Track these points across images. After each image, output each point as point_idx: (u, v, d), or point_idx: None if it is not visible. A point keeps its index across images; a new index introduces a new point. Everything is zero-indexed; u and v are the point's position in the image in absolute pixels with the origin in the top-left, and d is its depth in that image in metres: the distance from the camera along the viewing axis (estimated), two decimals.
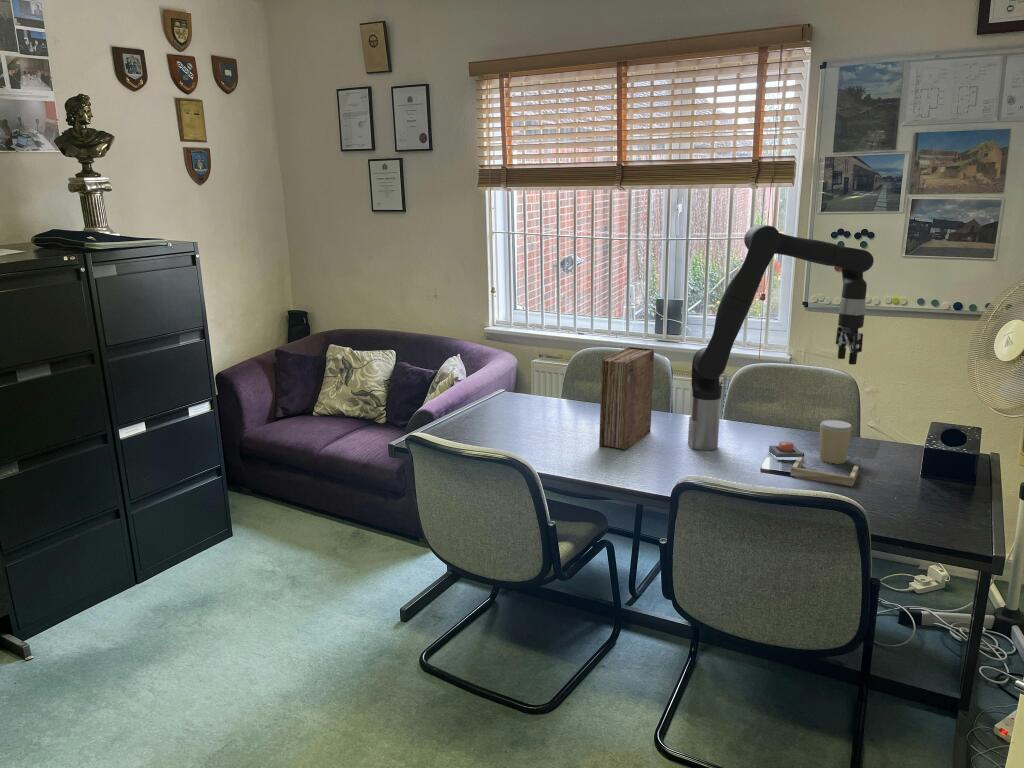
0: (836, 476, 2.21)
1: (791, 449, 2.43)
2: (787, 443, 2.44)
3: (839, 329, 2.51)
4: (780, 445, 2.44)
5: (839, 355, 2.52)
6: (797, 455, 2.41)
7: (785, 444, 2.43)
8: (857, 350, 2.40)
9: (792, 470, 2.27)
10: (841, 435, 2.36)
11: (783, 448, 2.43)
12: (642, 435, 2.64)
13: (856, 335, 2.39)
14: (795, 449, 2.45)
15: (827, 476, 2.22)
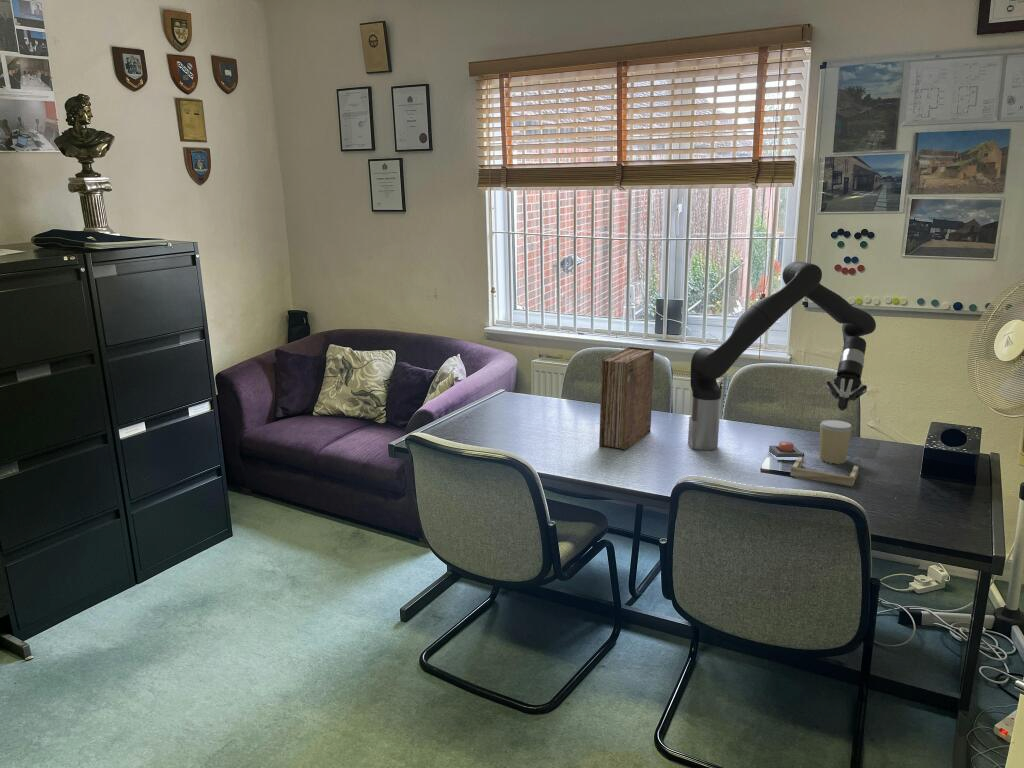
0: (836, 476, 2.21)
1: (791, 449, 2.43)
2: (787, 443, 2.44)
3: None
4: (780, 445, 2.44)
5: (842, 404, 2.48)
6: (797, 455, 2.41)
7: (785, 444, 2.43)
8: (855, 397, 2.48)
9: (792, 470, 2.27)
10: (841, 435, 2.36)
11: (783, 448, 2.43)
12: (642, 435, 2.64)
13: (866, 388, 2.48)
14: (795, 449, 2.45)
15: (827, 476, 2.22)
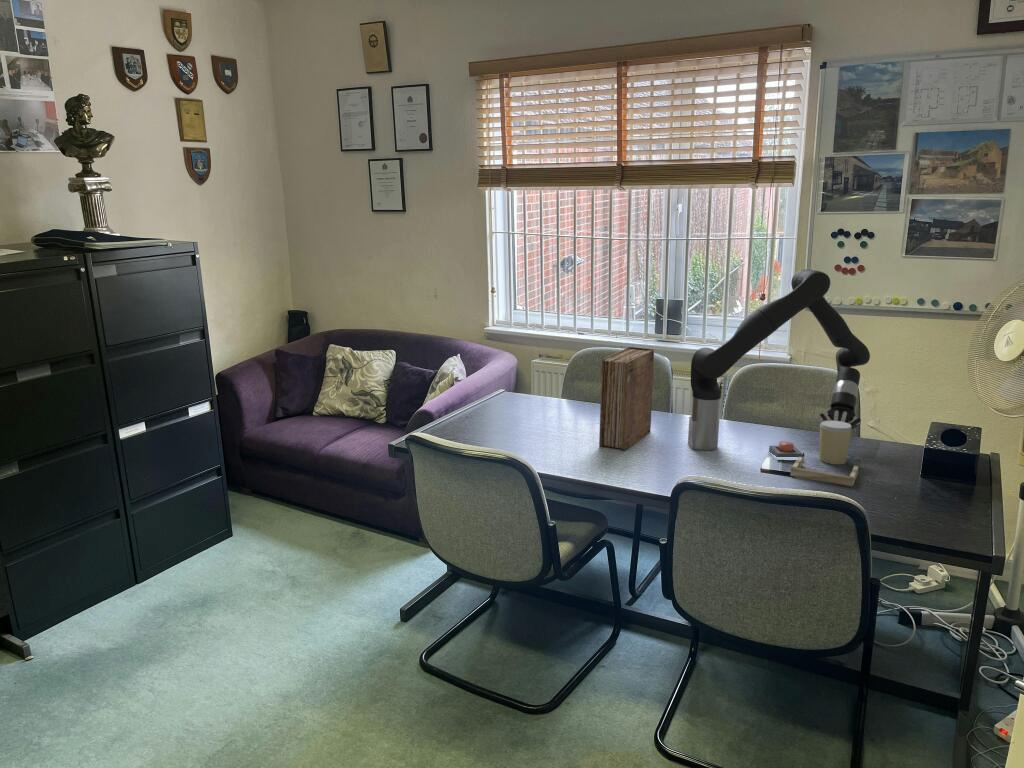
0: (836, 476, 2.21)
1: (791, 449, 2.43)
2: (787, 443, 2.44)
3: (823, 414, 2.50)
4: (780, 445, 2.44)
5: None
6: (797, 455, 2.41)
7: (785, 444, 2.43)
8: None
9: (792, 470, 2.27)
10: (841, 435, 2.35)
11: (783, 448, 2.43)
12: (642, 435, 2.64)
13: (860, 421, 2.44)
14: (795, 449, 2.45)
15: (827, 476, 2.22)
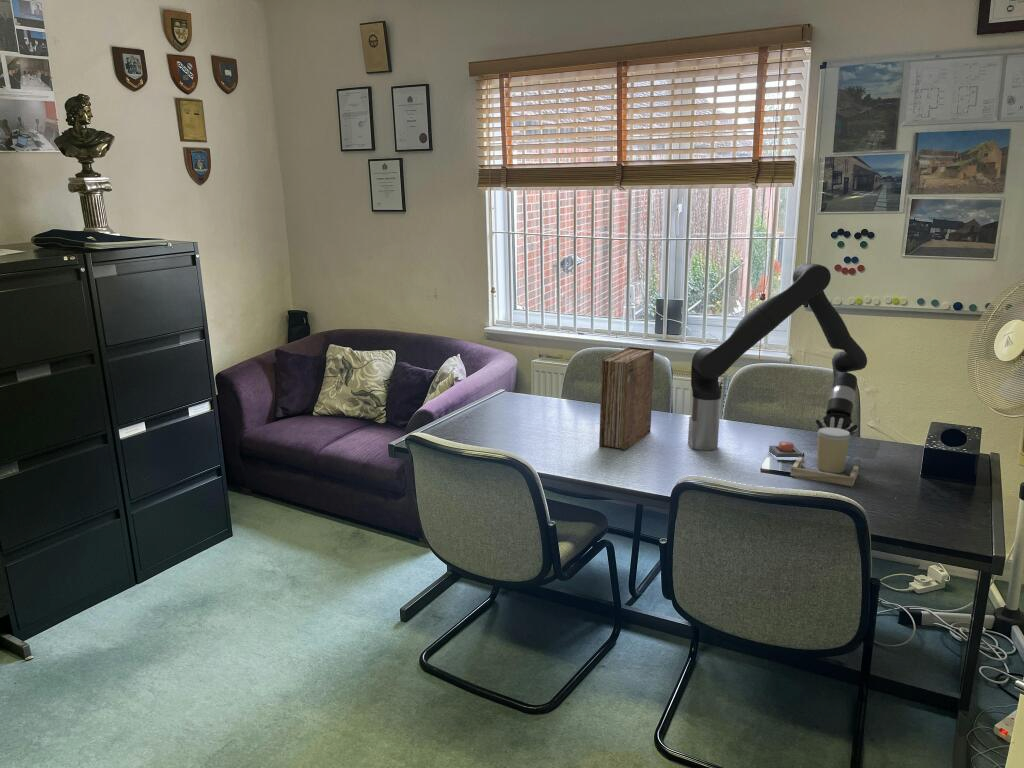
0: (836, 476, 2.21)
1: (791, 449, 2.43)
2: (787, 443, 2.44)
3: (819, 421, 2.43)
4: (780, 445, 2.44)
5: None
6: (797, 455, 2.41)
7: (785, 444, 2.43)
8: None
9: (792, 470, 2.27)
10: (842, 443, 2.28)
11: (783, 448, 2.43)
12: (642, 435, 2.64)
13: (856, 428, 2.37)
14: (795, 449, 2.45)
15: (827, 476, 2.22)
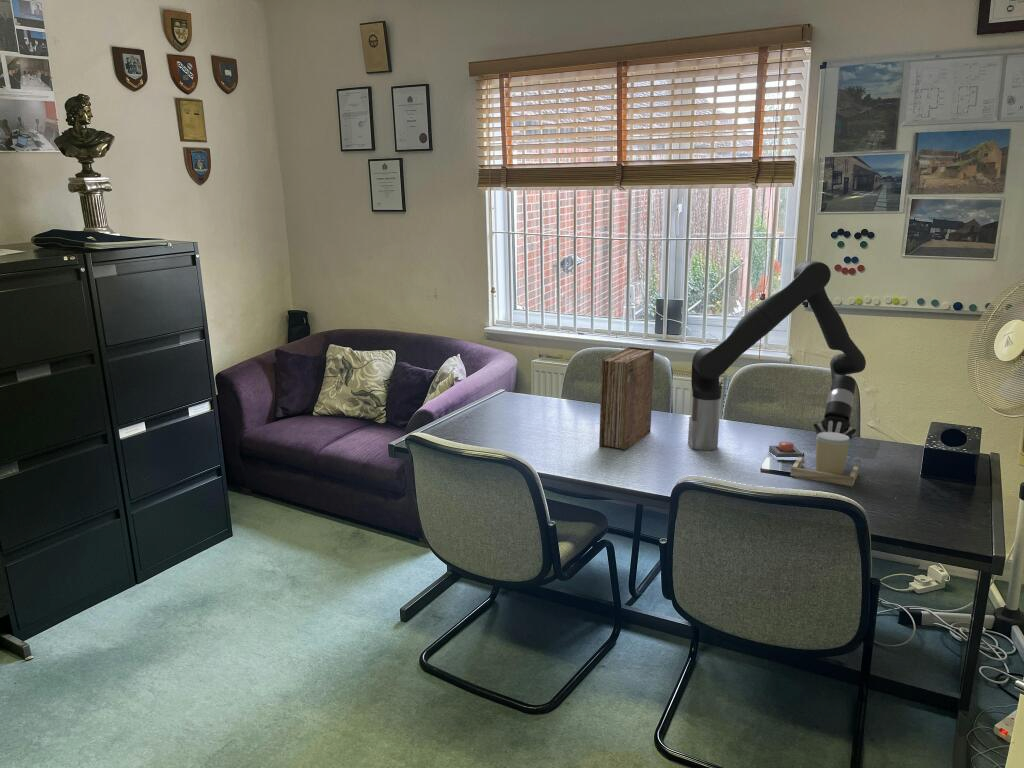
0: (836, 476, 2.21)
1: (791, 449, 2.43)
2: (787, 443, 2.44)
3: (817, 425, 2.38)
4: (780, 445, 2.44)
5: None
6: (797, 455, 2.41)
7: (785, 444, 2.43)
8: None
9: (792, 470, 2.27)
10: (842, 448, 2.23)
11: (783, 448, 2.43)
12: (642, 435, 2.64)
13: (855, 432, 2.33)
14: (795, 449, 2.45)
15: (827, 476, 2.22)
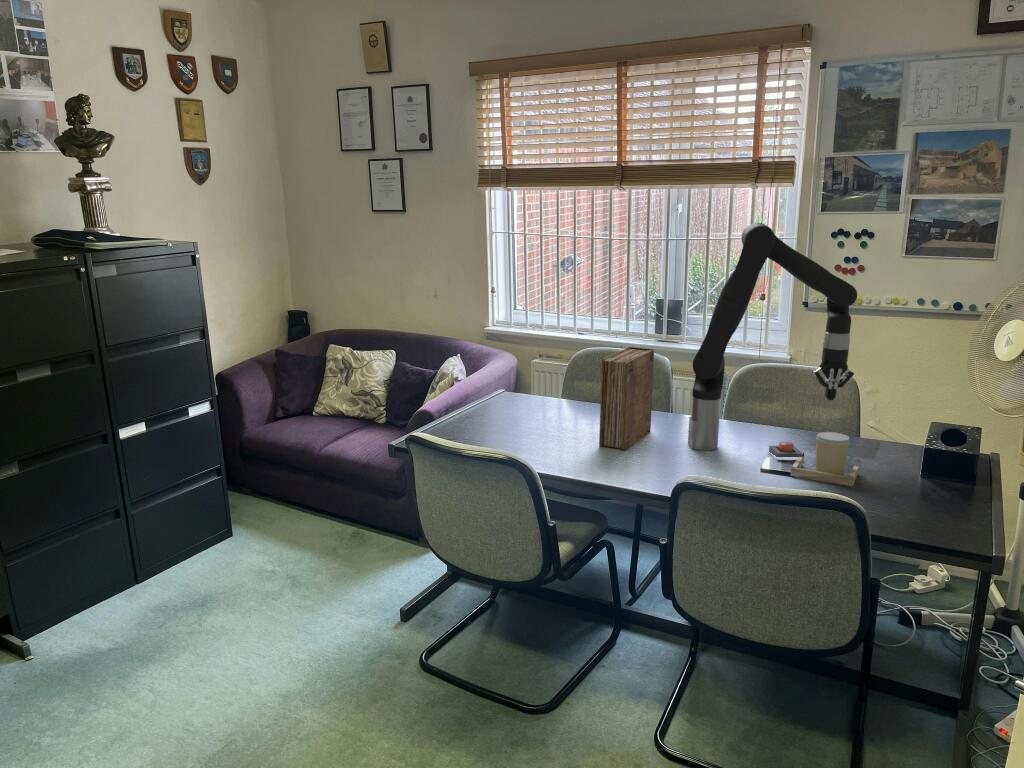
0: (836, 476, 2.21)
1: (791, 449, 2.43)
2: (787, 443, 2.44)
3: None
4: (780, 445, 2.44)
5: None
6: (797, 455, 2.41)
7: (785, 444, 2.43)
8: None
9: (792, 470, 2.27)
10: (842, 448, 2.23)
11: (783, 448, 2.43)
12: (642, 435, 2.64)
13: None
14: (795, 449, 2.45)
15: (827, 476, 2.22)
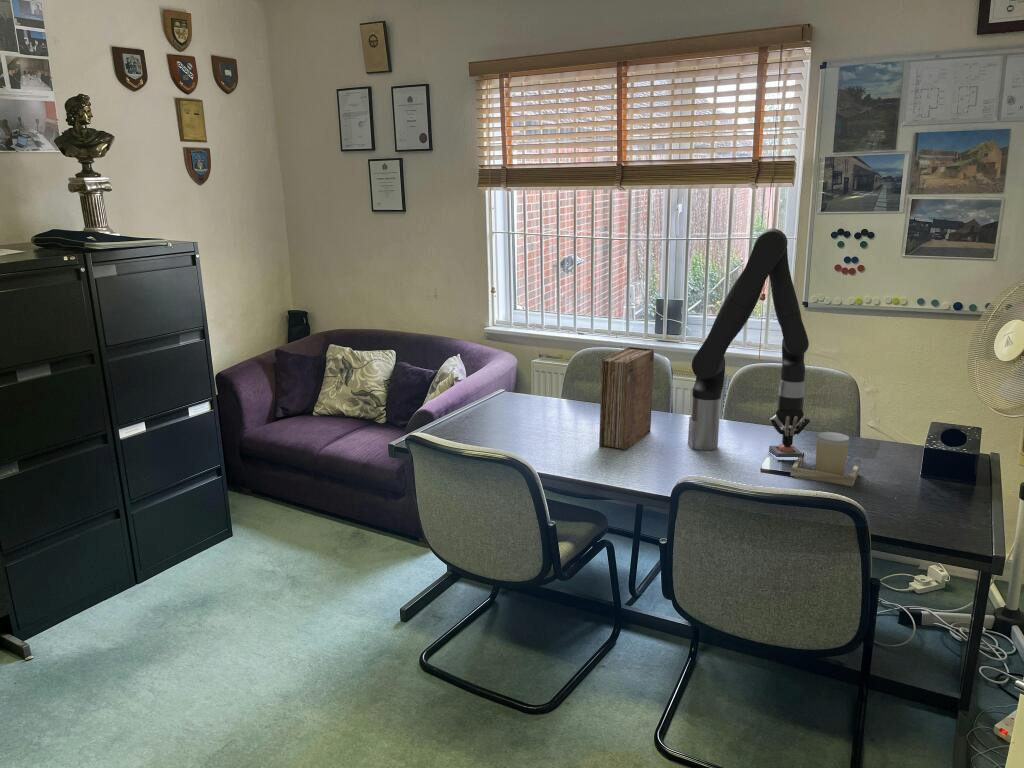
0: (836, 476, 2.21)
1: (791, 451, 2.43)
2: None
3: (774, 420, 2.41)
4: (780, 447, 2.44)
5: None
6: (797, 455, 2.41)
7: (785, 447, 2.43)
8: None
9: (792, 470, 2.27)
10: (842, 448, 2.23)
11: (783, 450, 2.43)
12: (642, 435, 2.64)
13: None
14: (795, 449, 2.45)
15: (827, 476, 2.22)
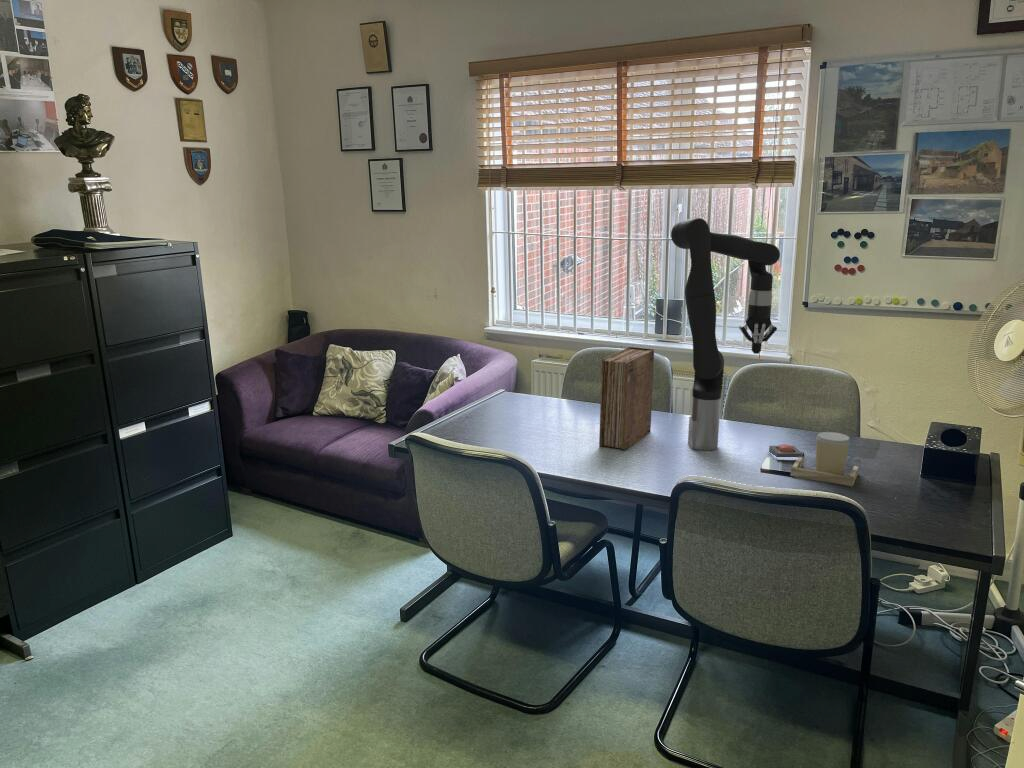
0: (836, 476, 2.21)
1: None
2: (787, 446, 2.44)
3: (744, 328, 2.60)
4: (780, 448, 2.44)
5: None
6: (797, 455, 2.41)
7: (785, 447, 2.43)
8: None
9: (792, 470, 2.27)
10: (842, 448, 2.23)
11: (783, 451, 2.43)
12: (642, 435, 2.64)
13: None
14: (795, 449, 2.45)
15: (827, 476, 2.22)
